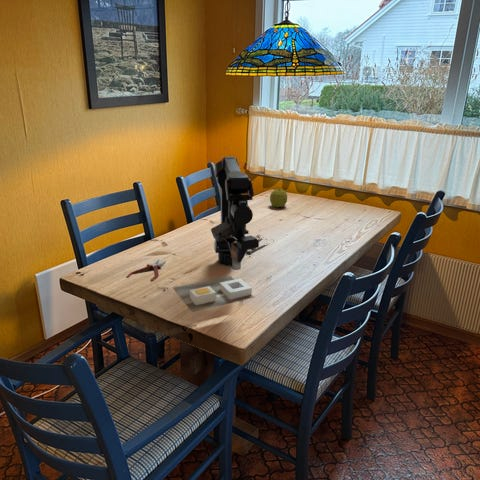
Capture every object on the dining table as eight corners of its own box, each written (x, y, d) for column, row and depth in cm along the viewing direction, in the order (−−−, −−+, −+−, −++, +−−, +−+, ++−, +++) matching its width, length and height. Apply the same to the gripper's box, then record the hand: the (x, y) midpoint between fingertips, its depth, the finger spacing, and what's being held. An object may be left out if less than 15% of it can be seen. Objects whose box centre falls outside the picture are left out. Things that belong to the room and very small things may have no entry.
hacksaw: (249, 256, 183) (249, 252, 182) (229, 250, 188) (229, 247, 188) (278, 239, 201) (278, 236, 201) (259, 234, 207) (259, 231, 206)
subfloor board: (172, 291, 152) (172, 287, 151) (230, 279, 161) (230, 275, 161) (192, 316, 137) (192, 311, 136) (254, 301, 147) (254, 297, 146)
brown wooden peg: (229, 267, 147) (229, 242, 144) (238, 265, 148) (239, 240, 145) (234, 271, 144) (234, 245, 141) (243, 269, 146) (244, 243, 142)
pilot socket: (219, 289, 151) (219, 282, 150) (240, 284, 154) (240, 278, 153) (230, 299, 144) (230, 292, 143) (251, 294, 148) (251, 287, 147)
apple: (278, 203, 255) (279, 185, 251) (290, 207, 248) (291, 188, 245) (265, 206, 249) (266, 187, 245) (277, 210, 242) (278, 191, 238)
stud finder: (189, 298, 144) (189, 289, 143) (209, 294, 147) (209, 285, 146) (195, 305, 140) (195, 296, 139) (215, 300, 143) (215, 291, 142)
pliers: (176, 264, 173) (175, 258, 173) (153, 287, 155) (153, 280, 154) (149, 261, 176) (149, 255, 175) (124, 283, 158) (123, 276, 157)
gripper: (202, 209, 144) (202, 254, 149) (227, 226, 128) (227, 275, 134) (232, 206, 149) (232, 249, 154) (260, 221, 133) (259, 268, 139)
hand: (236, 260), depth 145 cm, fingers closed on brown wooden peg, 4 cm apart
